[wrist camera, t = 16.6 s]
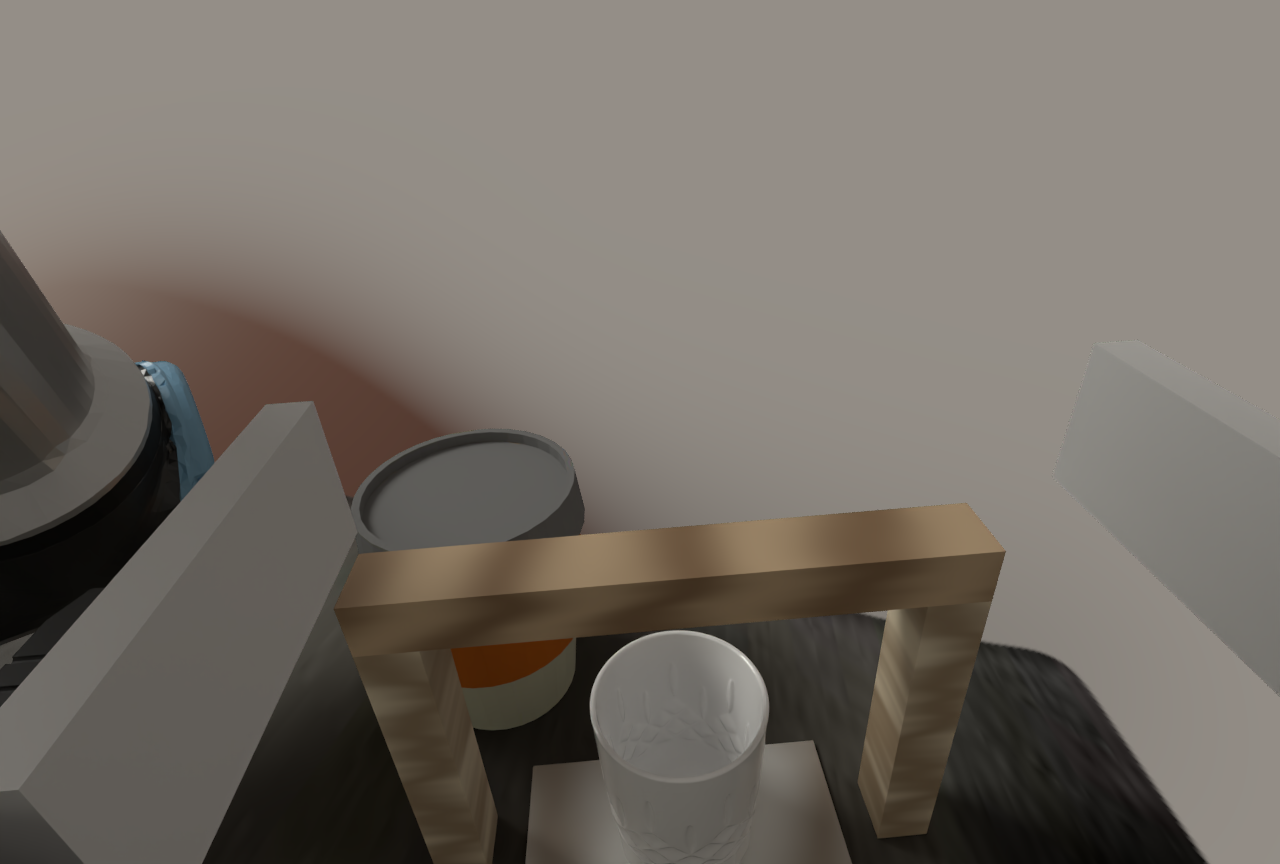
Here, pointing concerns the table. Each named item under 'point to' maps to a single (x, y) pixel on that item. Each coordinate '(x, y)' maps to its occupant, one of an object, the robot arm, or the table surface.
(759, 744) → the white cup
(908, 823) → the bridge
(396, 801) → the table surface
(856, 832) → the table surface
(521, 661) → the reusable coffee cup
